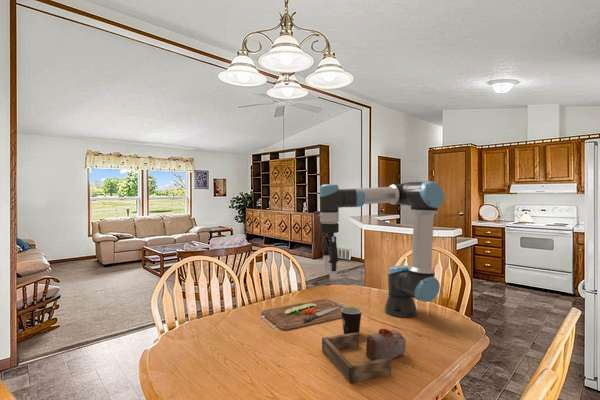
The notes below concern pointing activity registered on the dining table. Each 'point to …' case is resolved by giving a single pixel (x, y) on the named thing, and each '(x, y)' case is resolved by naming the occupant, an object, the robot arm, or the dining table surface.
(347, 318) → the coffee mug
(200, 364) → the dining table surface
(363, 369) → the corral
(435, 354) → the dining table surface
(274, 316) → the chopping board
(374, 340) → the food item
